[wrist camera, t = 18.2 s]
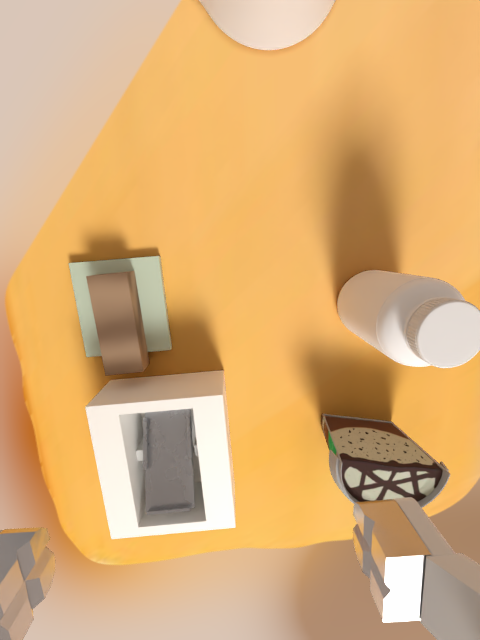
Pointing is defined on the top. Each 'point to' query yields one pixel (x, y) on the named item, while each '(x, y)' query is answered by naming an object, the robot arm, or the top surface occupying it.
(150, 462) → the cradle
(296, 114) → the top surface
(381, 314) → the pill bottle
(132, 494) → the pocket jig
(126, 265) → the sage pad
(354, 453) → the food container
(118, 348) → the walnut slab
